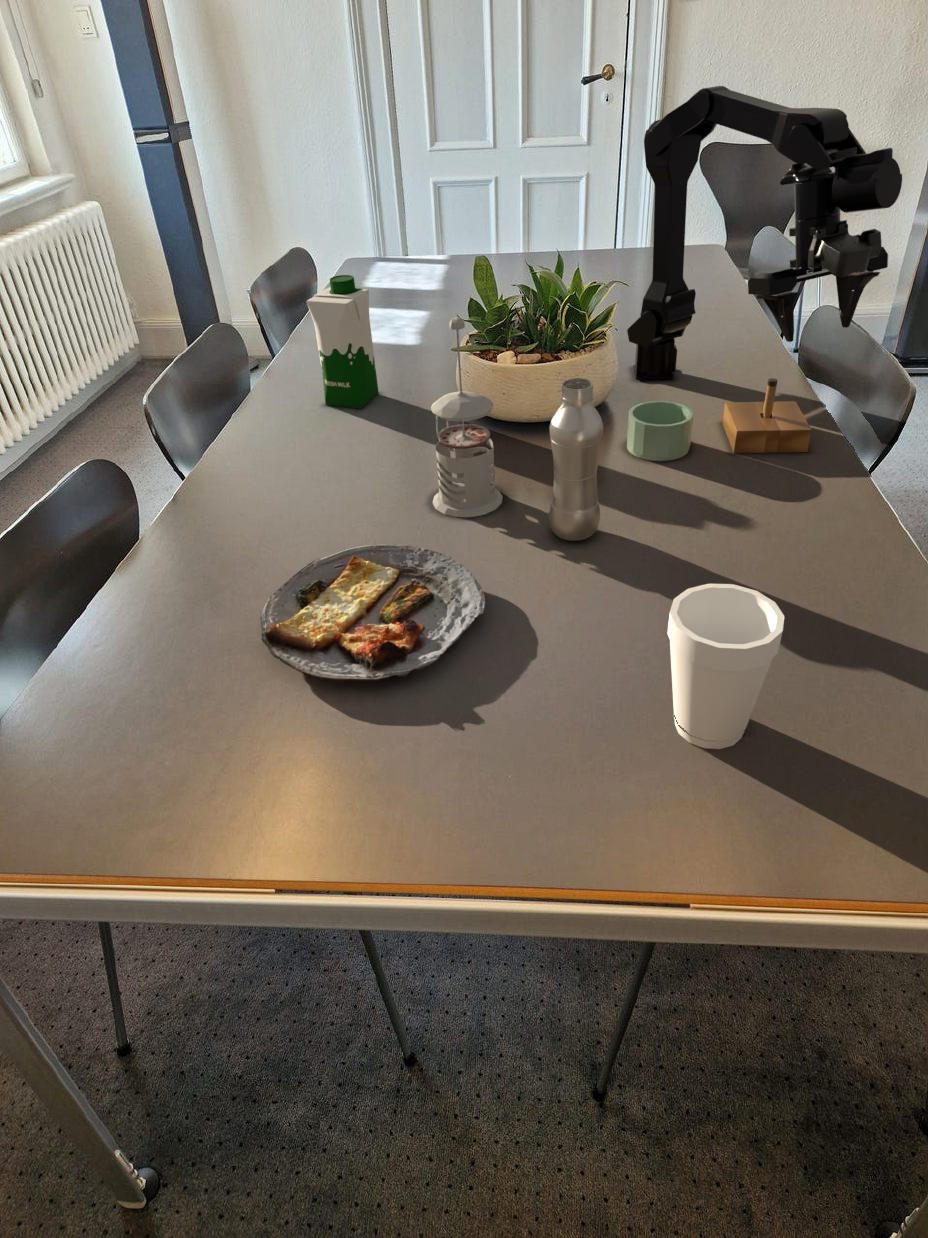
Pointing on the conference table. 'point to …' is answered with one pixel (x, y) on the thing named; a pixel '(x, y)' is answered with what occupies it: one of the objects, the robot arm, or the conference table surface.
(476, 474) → the french press
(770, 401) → the tan brown rod
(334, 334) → the milk carton
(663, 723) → the conference table surface
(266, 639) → the food plate
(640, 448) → the cup
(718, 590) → the foam cup
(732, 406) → the stand
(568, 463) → the silver metal bottle
